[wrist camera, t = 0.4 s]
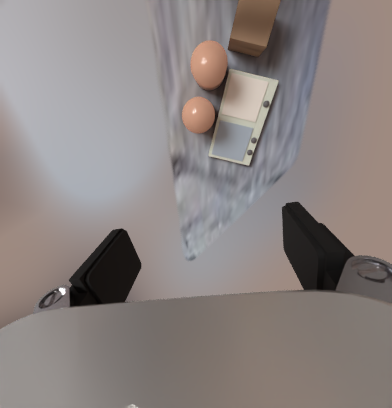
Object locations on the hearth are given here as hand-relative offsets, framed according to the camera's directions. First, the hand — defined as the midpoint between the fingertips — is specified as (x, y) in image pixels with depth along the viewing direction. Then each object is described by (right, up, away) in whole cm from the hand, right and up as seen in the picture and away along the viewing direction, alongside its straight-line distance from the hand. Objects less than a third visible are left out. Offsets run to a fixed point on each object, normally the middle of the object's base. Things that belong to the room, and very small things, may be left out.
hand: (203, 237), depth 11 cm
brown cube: (+8, +28, +17) cm, 34 cm away
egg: (0, +18, +22) cm, 29 cm away
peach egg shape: (+2, +24, +20) cm, 31 cm away
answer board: (+7, +17, +22) cm, 29 cm away
